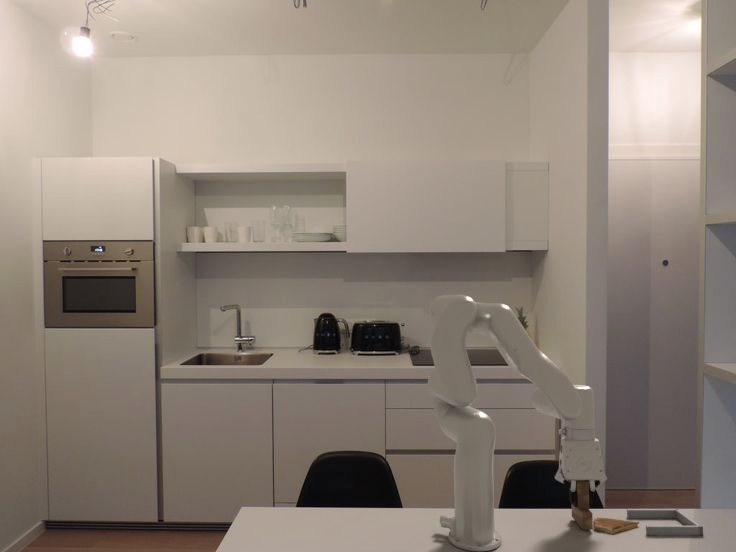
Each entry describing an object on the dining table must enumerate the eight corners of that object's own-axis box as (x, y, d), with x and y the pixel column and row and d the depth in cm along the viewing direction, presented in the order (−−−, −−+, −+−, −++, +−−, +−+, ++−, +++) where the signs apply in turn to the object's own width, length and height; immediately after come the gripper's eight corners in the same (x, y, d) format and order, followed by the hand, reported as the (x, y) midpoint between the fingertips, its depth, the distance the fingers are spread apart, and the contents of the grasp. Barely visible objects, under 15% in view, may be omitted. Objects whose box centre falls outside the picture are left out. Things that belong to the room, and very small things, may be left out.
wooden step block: (581, 529, 139) (580, 485, 139) (570, 516, 147) (569, 474, 147) (593, 529, 139) (592, 485, 139) (582, 516, 147) (581, 474, 147)
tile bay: (647, 535, 137) (647, 526, 137) (627, 516, 148) (626, 509, 148) (703, 535, 136) (702, 526, 136) (678, 516, 148) (677, 509, 148)
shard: (639, 528, 142) (639, 520, 142) (642, 540, 135) (642, 532, 135) (594, 522, 146) (593, 515, 146) (594, 533, 139) (594, 526, 139)
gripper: (552, 437, 140) (554, 511, 139) (617, 436, 140) (619, 510, 139) (543, 430, 148) (545, 500, 147) (605, 429, 147) (607, 499, 146)
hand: (581, 504), depth 143 cm, fingers closed on wooden step block, 3 cm apart
